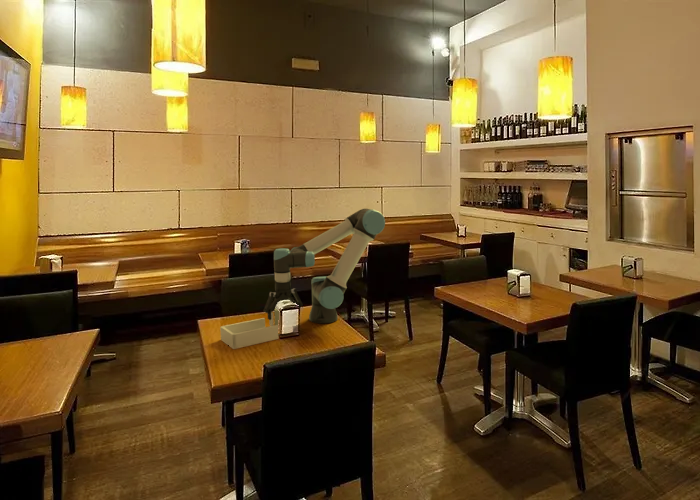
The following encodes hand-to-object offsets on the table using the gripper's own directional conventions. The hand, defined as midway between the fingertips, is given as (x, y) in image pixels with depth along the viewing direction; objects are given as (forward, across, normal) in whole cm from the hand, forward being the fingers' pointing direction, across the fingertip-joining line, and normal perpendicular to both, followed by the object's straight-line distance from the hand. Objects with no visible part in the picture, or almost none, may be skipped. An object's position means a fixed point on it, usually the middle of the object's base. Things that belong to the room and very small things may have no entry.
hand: (284, 323), depth 227 cm
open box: (+4, +18, 0) cm, 18 cm away
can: (+4, 0, 0) cm, 4 cm away
